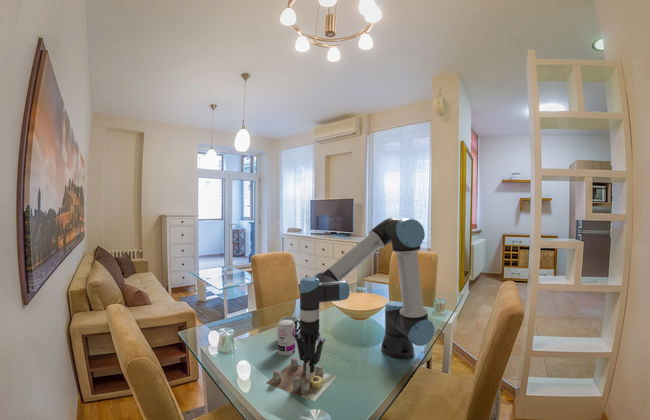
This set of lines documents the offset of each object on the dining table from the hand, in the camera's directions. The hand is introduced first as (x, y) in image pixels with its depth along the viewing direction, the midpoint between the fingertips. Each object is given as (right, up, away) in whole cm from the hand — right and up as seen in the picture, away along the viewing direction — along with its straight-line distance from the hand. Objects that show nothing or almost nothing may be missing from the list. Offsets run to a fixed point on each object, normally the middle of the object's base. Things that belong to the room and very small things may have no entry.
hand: (309, 379), depth 112 cm
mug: (-12, -3, +42) cm, 44 cm away
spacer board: (-3, -3, +2) cm, 5 cm away
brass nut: (+3, -2, -2) cm, 3 cm away
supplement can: (-12, -3, +25) cm, 28 cm away
